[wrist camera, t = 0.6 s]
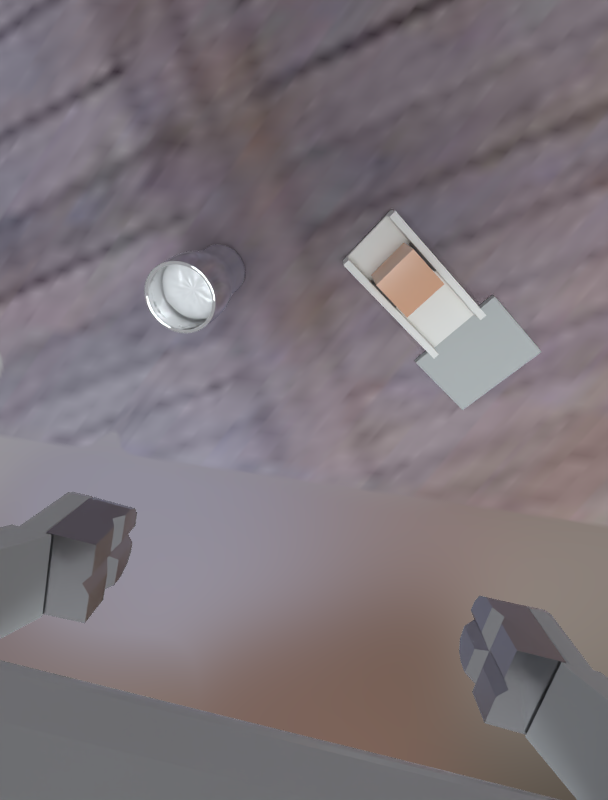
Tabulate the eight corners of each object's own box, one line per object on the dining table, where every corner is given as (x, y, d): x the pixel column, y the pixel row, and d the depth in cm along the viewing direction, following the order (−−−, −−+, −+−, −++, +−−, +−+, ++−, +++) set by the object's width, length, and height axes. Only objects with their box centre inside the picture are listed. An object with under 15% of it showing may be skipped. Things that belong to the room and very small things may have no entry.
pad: (492, 294, 48) (494, 296, 48) (538, 349, 51) (541, 351, 50) (414, 360, 53) (415, 362, 52) (460, 406, 56) (462, 410, 55)
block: (403, 242, 45) (413, 248, 40) (431, 273, 47) (444, 283, 41) (371, 274, 47) (376, 285, 42) (398, 304, 49) (407, 317, 43)
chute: (391, 209, 45) (395, 210, 42) (476, 307, 49) (486, 315, 46) (342, 260, 48) (343, 265, 45) (427, 348, 52) (433, 358, 49)
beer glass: (195, 234, 47) (141, 250, 34) (252, 247, 48) (221, 267, 34) (191, 292, 51) (141, 327, 37) (245, 303, 51) (214, 342, 38)
